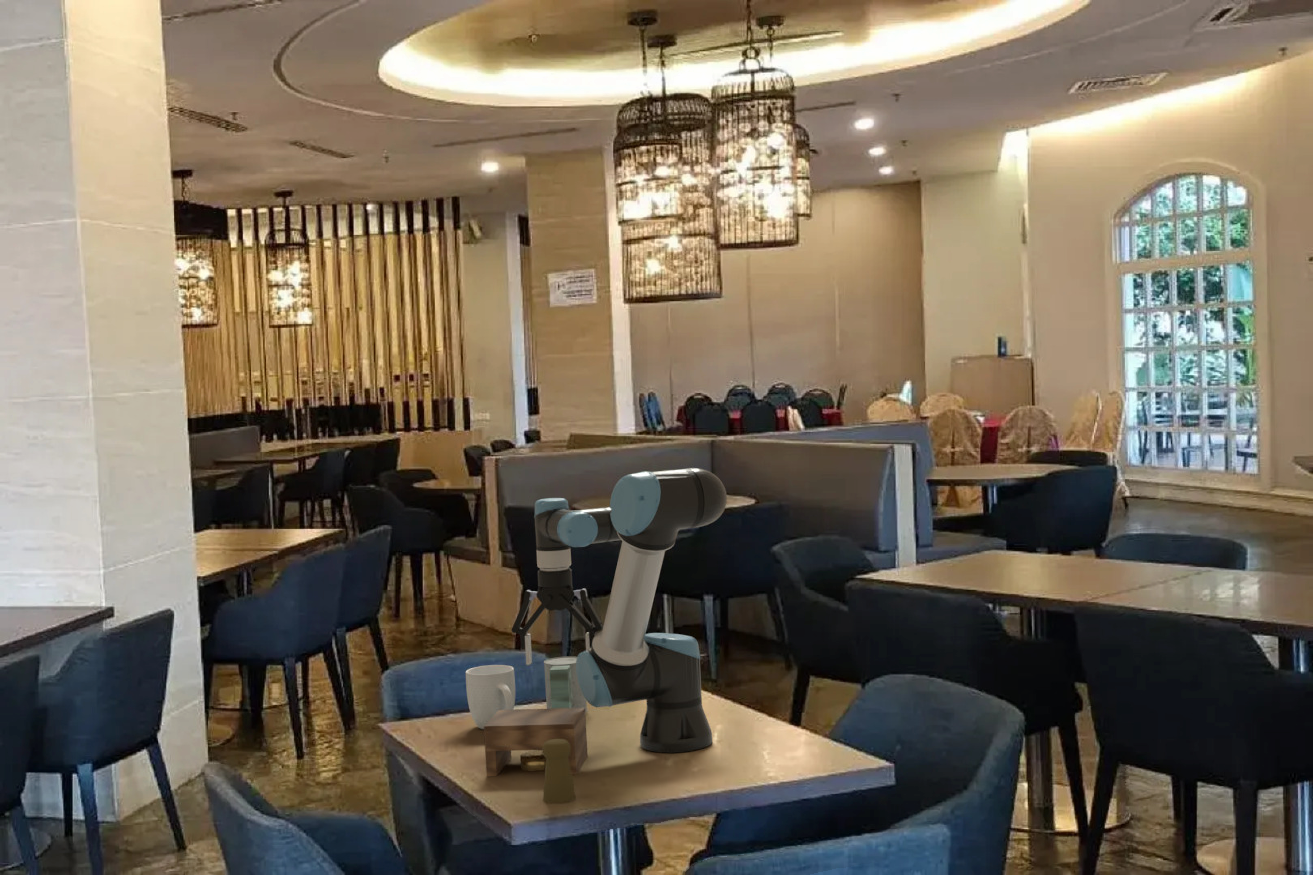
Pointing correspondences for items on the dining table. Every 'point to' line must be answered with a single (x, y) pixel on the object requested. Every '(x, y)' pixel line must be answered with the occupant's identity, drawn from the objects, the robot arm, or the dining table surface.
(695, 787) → the dining table surface
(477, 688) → the mug
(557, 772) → the cork
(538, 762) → the token
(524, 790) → the dining table surface
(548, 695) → the speckled white cylinder
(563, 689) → the sweep tool
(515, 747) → the wooden bench
